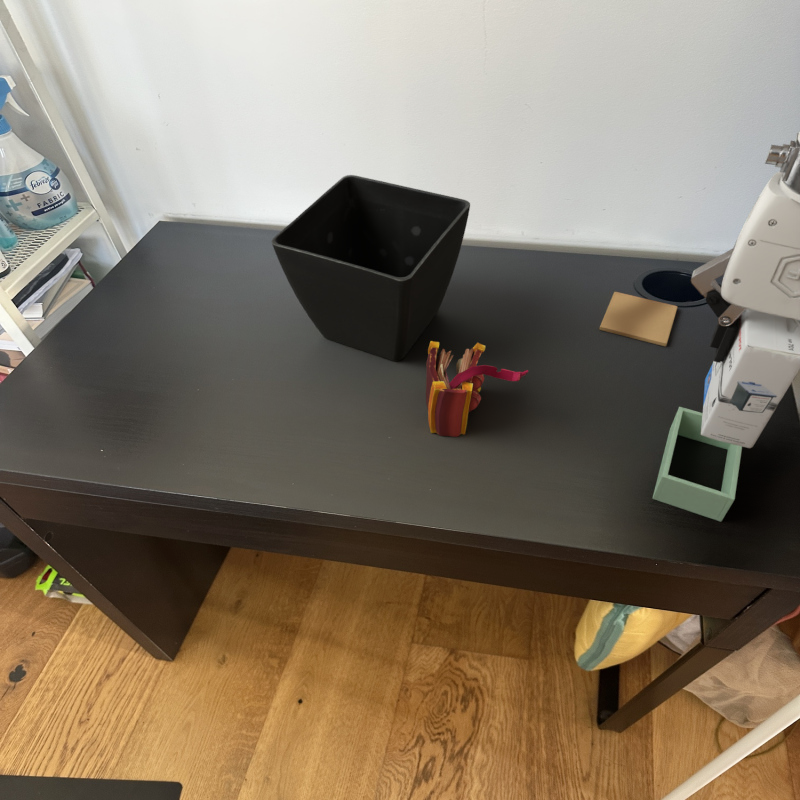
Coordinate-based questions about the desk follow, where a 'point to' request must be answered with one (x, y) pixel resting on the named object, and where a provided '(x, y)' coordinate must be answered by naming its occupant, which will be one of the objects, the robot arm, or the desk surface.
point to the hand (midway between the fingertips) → (754, 360)
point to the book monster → (457, 388)
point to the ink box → (750, 378)
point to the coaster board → (639, 318)
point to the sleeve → (691, 493)
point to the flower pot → (373, 261)
